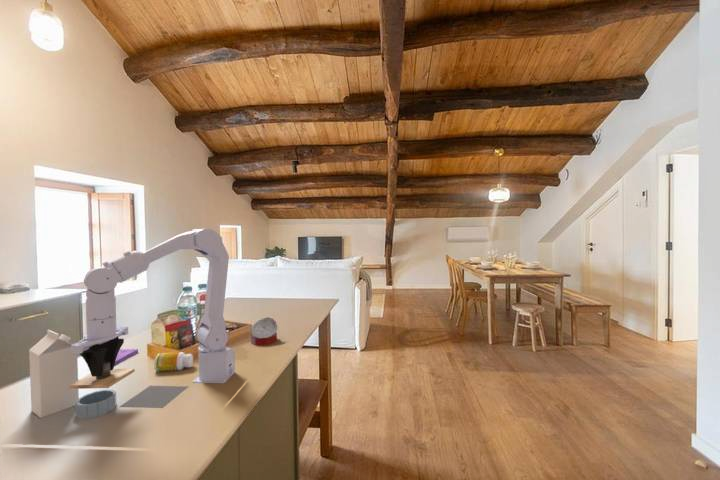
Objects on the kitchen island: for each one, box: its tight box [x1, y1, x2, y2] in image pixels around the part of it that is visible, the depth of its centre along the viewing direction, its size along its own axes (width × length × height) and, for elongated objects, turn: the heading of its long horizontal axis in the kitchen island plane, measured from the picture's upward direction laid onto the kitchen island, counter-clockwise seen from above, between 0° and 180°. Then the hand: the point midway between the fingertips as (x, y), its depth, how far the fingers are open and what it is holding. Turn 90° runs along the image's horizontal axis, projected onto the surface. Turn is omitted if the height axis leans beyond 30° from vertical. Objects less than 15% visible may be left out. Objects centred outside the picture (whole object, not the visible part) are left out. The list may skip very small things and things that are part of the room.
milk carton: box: [28, 329, 80, 419], centre depth 82 cm, size 7×7×19 cm
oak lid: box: [69, 361, 136, 390], centre depth 81 cm, size 9×9×4 cm
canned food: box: [250, 317, 278, 346], centre depth 131 cm, size 11×10×10 cm
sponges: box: [114, 348, 139, 366], centre depth 114 cm, size 7×13×2 cm, turn 179°
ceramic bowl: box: [75, 389, 117, 419], centre depth 81 cm, size 8×8×4 cm
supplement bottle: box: [153, 351, 194, 372], centre depth 104 cm, size 5×5×10 cm
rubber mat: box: [119, 385, 189, 409], centre depth 87 cm, size 11×11×1 cm
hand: (102, 372), depth 81 cm, fingers closed on oak lid, 3 cm apart
